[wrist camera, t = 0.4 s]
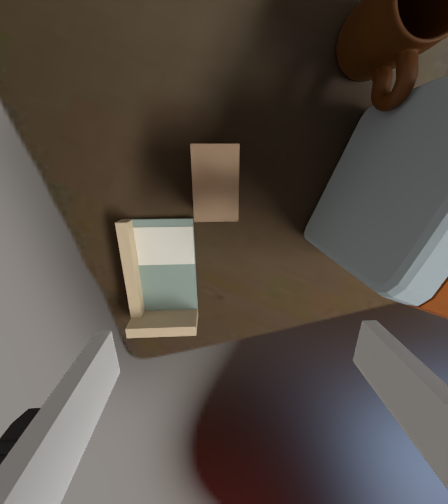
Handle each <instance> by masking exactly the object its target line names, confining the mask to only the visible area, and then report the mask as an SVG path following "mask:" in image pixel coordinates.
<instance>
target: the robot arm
mask: <svg viewBox="0 0 448 504" xmlns="http://www.w3.org/2000/svg"><path fill="white" fill-rule="evenodd" d="M353 362H354V363H355V365H356V366H357V367H358V369H359V370H360V371H361V373H362V374H363V375H364V377H365V378H366V380H367V381H368V382H369V384H370V385H371V386H372V388H373V389H374V391H375V392H376V393H377V395H378V396H379V397H380V398H381V400H382V401H383V403H384V404H385V405H386V407H387V408H388V410H389V411H390V412H391V414H392V415H393V416H394V418H395V419H396V420H397V422H398V423H399V425H400V426H401V427H402V428H403V430H404V431H405V433H406V434H407V435H408V437H409V438H410V440H411V441H412V442H413V444H414V445H415V446H416V448H417V449H418V450H419V452H420V453H421V454H422V456H423V457H424V459H425V460H426V461H427V463H428V464H429V465H430V467H431V468H432V469H433V471H434V472H435V474H436V475H437V476H438V478H439V479H440V480H441V482H442V483H443V484H444V486H445V487H446V488H447V490H448V386H447V385H446V384H445V383H444V382H443V381H442V380H441V379H440V378H438V377H437V376H436V375H435V374H434V373H433V372H432V371H431V370H429V368H428V367H426V366H425V365H424V364H423V363H422V362H421V361H420V360H419V359H418V358H417V357H416V356H414V355H413V354H412V353H411V352H410V351H409V350H408V349H407V348H406V347H405V346H403V345H402V344H401V343H400V342H399V341H398V340H397V339H396V338H395V337H394V336H393V335H392V334H390V333H389V332H388V331H387V330H386V329H385V328H384V327H383V326H382V325H381V324H380V323H379V322H378V321H376V320H371V321H362V324H361V328H360V332H359V337H358V341H357V345H356V349H355V354H354V358H353ZM119 374H120V368H119V364H118V359H117V355H116V350H115V345H114V340H113V336H112V332H111V331H96V332H95V333H94V335H93V336H92V338H91V339H90V341H89V342H88V343H87V345H86V346H85V347H84V349H83V350H82V352H81V353H80V355H79V356H78V357H77V358H76V360H75V361H74V363H73V364H72V365H71V367H70V368H69V370H68V371H67V372H66V374H65V375H64V377H63V378H62V379H61V381H60V382H59V384H58V385H57V386H56V388H55V389H54V391H53V392H52V393H51V395H50V396H49V397H48V399H47V400H46V402H45V403H44V404H43V406H42V407H41V408H32V409H28V410H27V411H26V412H24V413H23V414H22V415H21V416H20V417H19V418H18V419H16V420H15V421H14V422H13V423H12V424H11V425H10V426H9V428H8V429H7V430H6V432H5V433H4V434H3V435H2V437H1V438H0V504H61V501H62V499H63V497H64V495H65V493H66V491H67V488H68V486H69V484H70V482H71V479H72V477H73V475H74V473H75V471H76V468H77V466H78V464H79V462H80V460H81V457H82V455H83V453H84V451H85V449H86V446H87V444H88V442H89V439H90V438H91V435H92V433H93V431H94V428H95V427H96V424H97V422H98V420H99V418H100V415H101V413H102V411H103V409H104V407H105V404H106V402H107V400H108V398H109V396H110V393H111V391H112V389H113V387H114V384H115V382H116V380H117V378H118V376H119Z"/></svg>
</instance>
